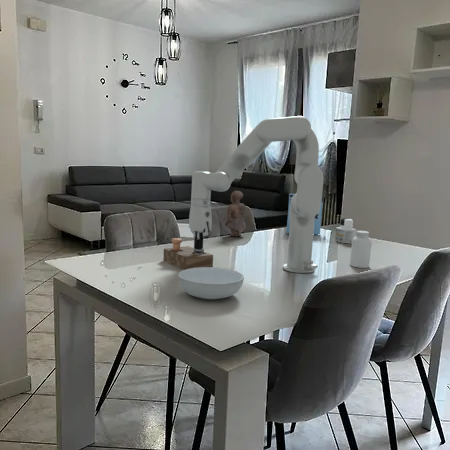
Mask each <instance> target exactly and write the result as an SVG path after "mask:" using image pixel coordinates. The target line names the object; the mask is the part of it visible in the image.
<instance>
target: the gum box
mask: <svg viewBox="0 0 450 450" xmlns="http://www.w3.org/2000/svg"><path fill="white" fill-rule="evenodd" d="M294 194H295V193H289V196H288V210H287V220H286V222H287V223H286V233H287V234H289V230H290V203H291V199H292V197H293V196H294ZM323 202H324V196H323V195H322V201H321V208H320V211H319V212H318V214H317V215H316V216H314V232H313V234H320V235H321V224H322V214H323V213H322V212H323V204H324V203H323Z"/></svg>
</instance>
